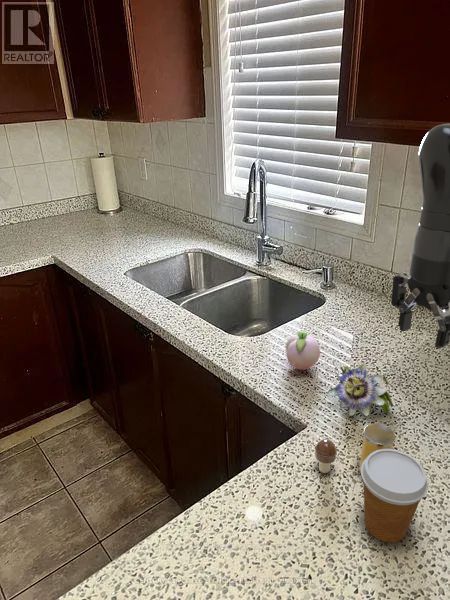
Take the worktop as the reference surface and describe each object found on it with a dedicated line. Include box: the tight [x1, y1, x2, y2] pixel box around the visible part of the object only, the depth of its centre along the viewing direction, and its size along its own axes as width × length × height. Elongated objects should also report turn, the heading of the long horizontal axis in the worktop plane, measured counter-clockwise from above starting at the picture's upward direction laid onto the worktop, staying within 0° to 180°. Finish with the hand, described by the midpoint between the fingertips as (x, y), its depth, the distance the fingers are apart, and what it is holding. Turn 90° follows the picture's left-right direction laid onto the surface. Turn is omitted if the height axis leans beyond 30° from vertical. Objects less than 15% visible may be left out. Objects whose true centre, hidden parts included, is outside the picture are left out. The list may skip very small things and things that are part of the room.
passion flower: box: [327, 362, 394, 417], centre depth 97 cm, size 11×11×12 cm
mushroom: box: [314, 438, 338, 474], centre depth 81 cm, size 4×4×7 cm
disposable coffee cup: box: [360, 449, 429, 544], centre depth 69 cm, size 10×10×12 cm
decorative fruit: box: [285, 331, 321, 370], centre depth 109 cm, size 9×8×10 cm
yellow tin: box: [358, 423, 396, 474], centre depth 79 cm, size 5×5×9 cm
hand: (421, 337), depth 81 cm, fingers open, 7 cm apart
